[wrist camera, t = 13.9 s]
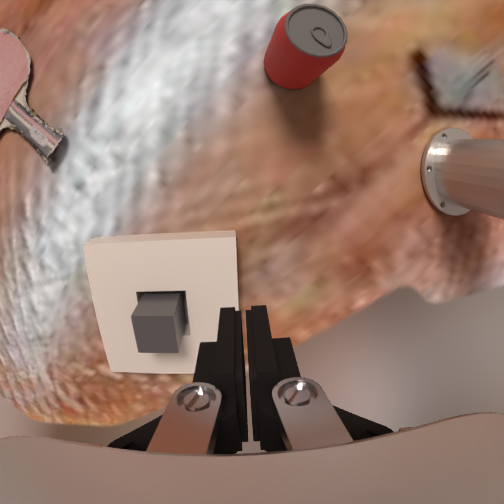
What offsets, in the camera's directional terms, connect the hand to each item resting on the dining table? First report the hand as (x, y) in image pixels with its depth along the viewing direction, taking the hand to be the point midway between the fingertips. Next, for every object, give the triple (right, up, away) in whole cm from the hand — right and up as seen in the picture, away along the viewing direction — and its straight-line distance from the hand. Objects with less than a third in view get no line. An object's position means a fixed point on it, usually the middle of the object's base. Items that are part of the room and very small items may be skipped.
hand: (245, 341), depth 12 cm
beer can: (+5, +25, +22) cm, 34 cm away
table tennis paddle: (-36, +26, +19) cm, 48 cm away
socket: (-11, -3, +28) cm, 31 cm away
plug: (-11, -3, +28) cm, 30 cm away
